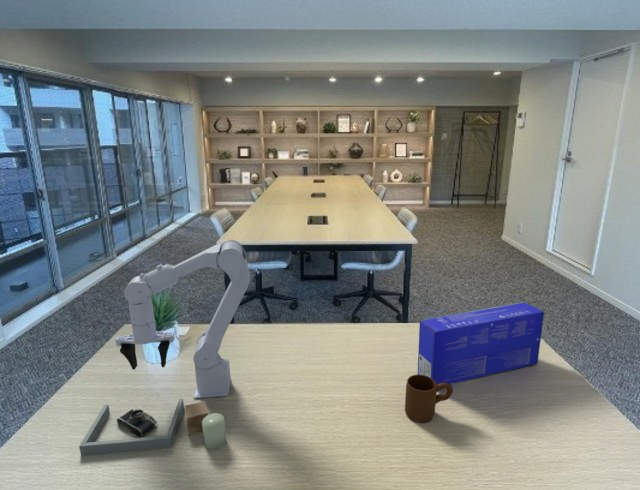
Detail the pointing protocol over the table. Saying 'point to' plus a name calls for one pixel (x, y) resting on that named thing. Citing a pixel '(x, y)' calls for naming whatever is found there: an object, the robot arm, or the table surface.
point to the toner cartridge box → (479, 342)
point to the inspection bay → (127, 444)
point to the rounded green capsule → (214, 431)
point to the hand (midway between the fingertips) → (149, 366)
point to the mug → (424, 397)
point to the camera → (138, 422)
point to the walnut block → (195, 417)
